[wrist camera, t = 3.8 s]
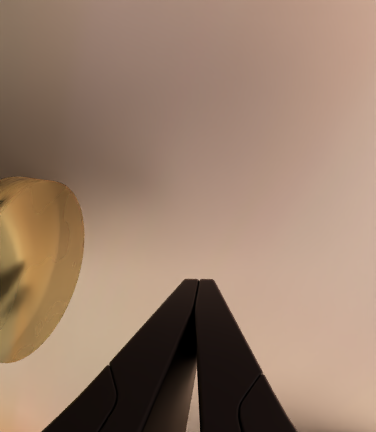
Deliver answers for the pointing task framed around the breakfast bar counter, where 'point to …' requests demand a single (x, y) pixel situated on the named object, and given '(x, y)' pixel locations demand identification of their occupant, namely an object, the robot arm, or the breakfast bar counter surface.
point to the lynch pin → (36, 261)
